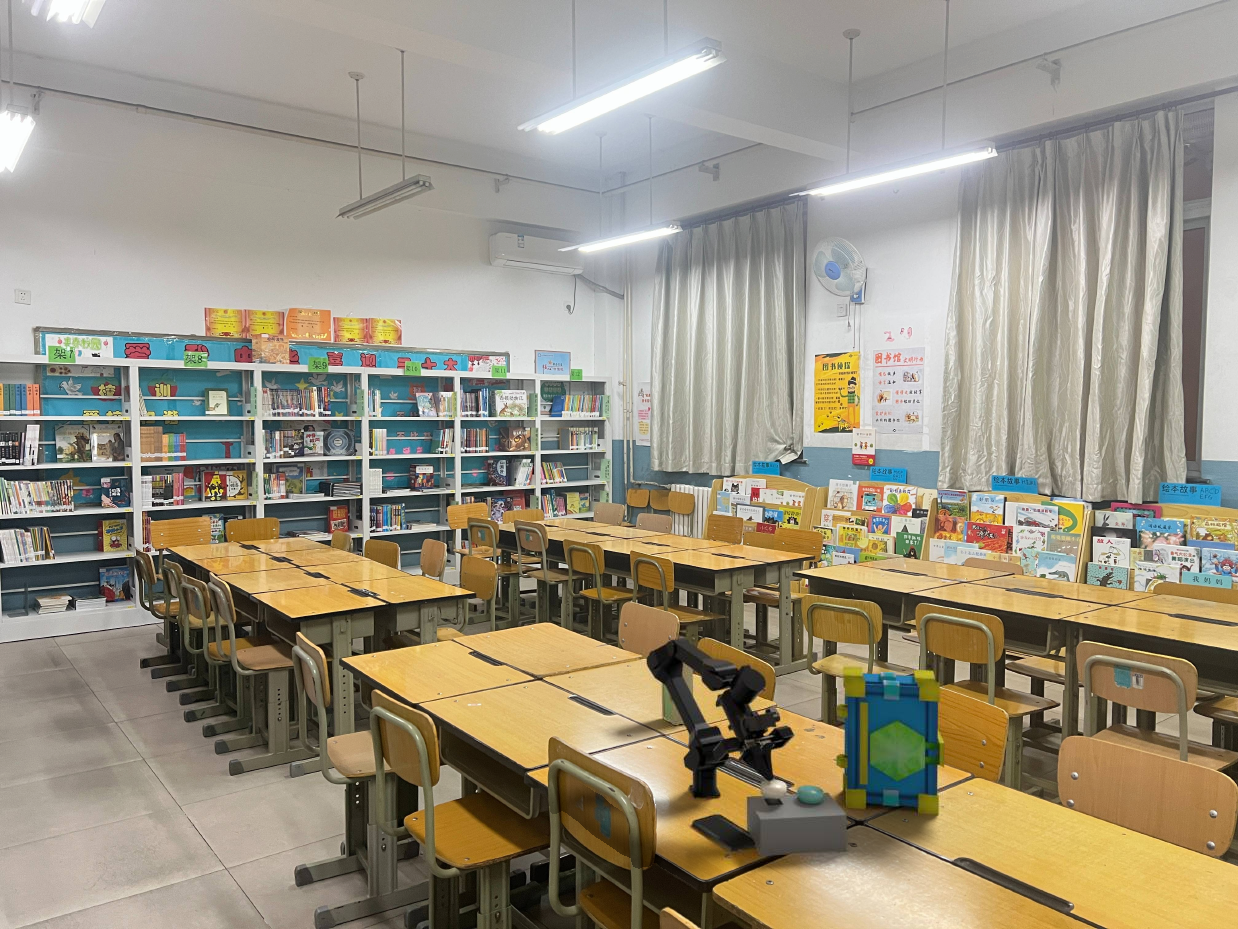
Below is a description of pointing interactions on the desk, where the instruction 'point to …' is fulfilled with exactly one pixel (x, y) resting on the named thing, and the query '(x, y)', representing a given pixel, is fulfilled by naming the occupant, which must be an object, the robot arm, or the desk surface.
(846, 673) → the decorative book
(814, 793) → the teal button
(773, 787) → the cream button
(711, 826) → the phone
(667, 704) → the toy refrigerator
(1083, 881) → the desk surface
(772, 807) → the button box
